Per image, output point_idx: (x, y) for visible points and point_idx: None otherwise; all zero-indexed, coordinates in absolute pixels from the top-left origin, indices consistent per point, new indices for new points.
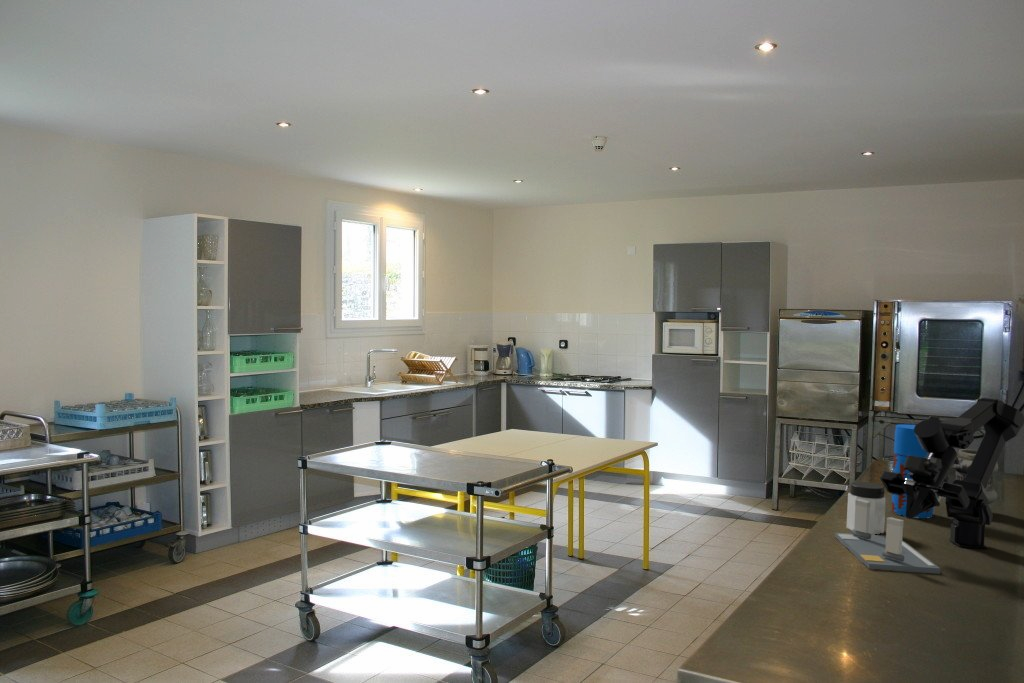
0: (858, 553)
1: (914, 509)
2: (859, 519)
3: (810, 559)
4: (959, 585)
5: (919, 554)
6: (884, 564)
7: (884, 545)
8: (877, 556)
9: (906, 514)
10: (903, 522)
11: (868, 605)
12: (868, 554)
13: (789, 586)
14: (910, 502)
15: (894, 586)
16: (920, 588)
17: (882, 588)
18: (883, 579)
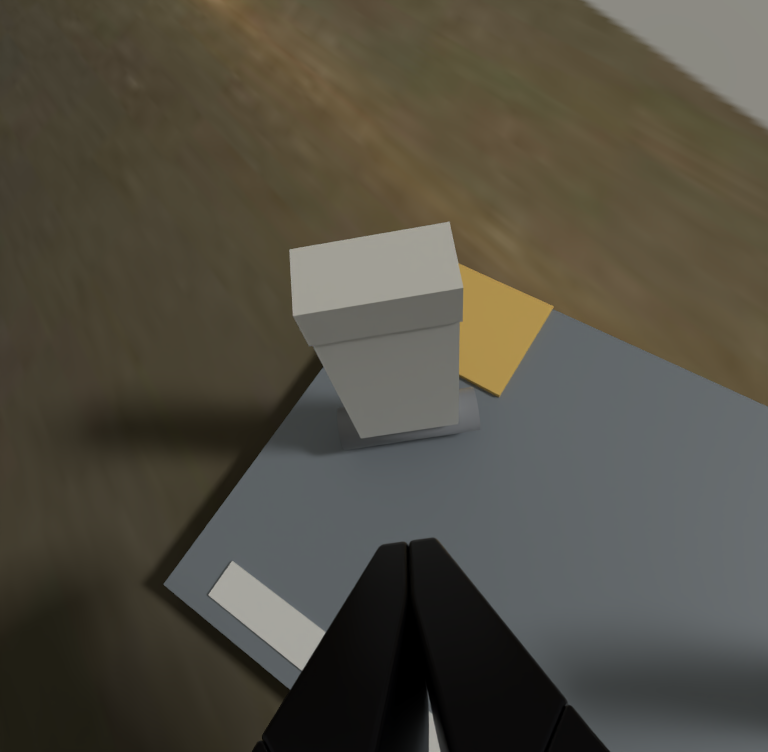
0: (590, 330)
1: (326, 643)
2: None
3: (634, 122)
4: (30, 498)
5: None
6: None
7: (745, 717)
8: (488, 377)
9: (428, 546)
10: (299, 327)
11: (151, 16)
12: (556, 374)
13: None
14: (466, 721)
15: (204, 200)
16: (129, 278)
17: (216, 145)
18: (282, 222)
